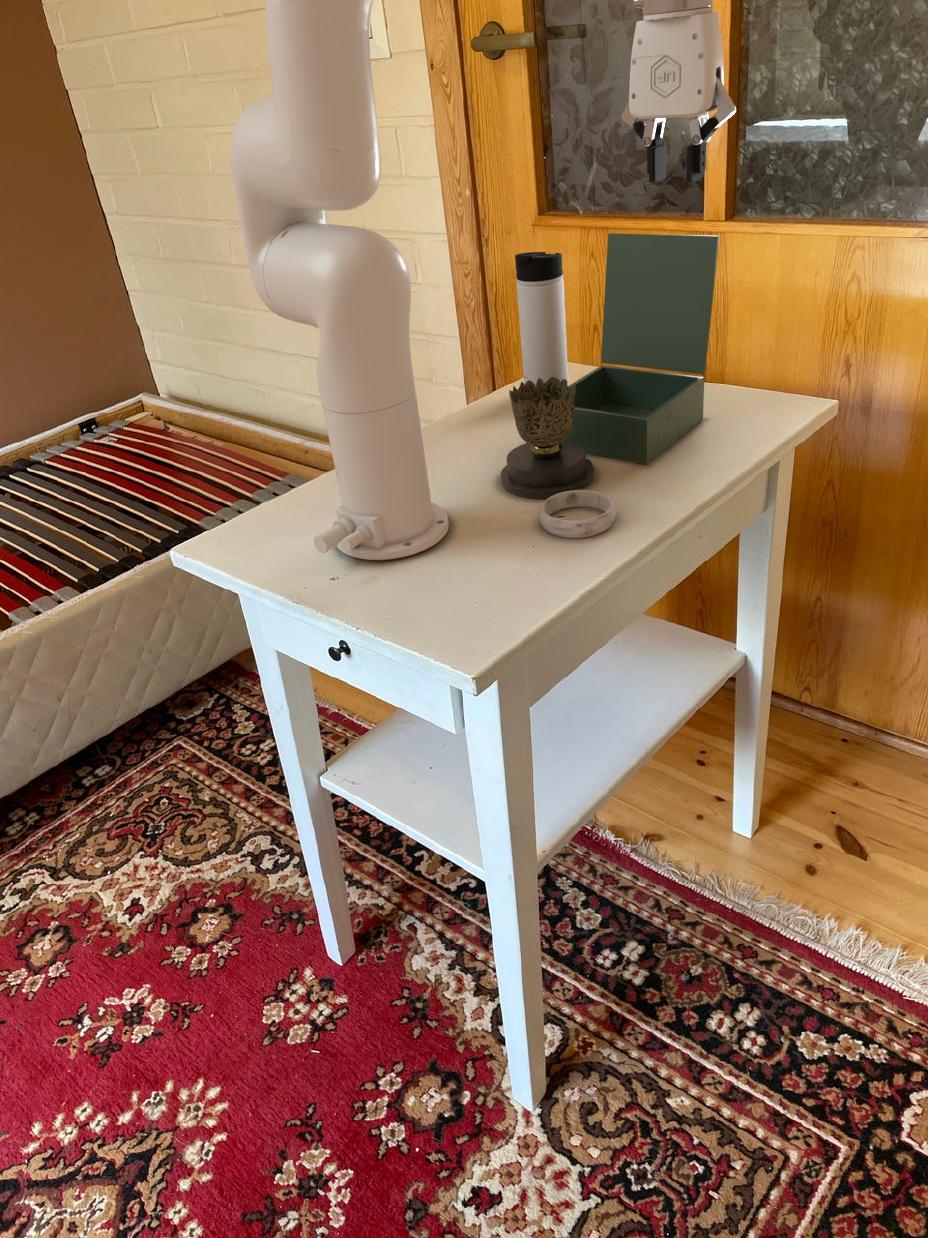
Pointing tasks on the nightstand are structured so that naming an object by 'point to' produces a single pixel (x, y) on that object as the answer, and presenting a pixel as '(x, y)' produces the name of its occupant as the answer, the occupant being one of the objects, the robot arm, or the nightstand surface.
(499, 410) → the nightstand surface
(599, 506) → the ring
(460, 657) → the nightstand surface
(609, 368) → the tin
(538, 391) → the cup
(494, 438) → the nightstand surface
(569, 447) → the stand
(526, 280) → the travel mug
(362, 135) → the robot arm
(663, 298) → the tin lid
